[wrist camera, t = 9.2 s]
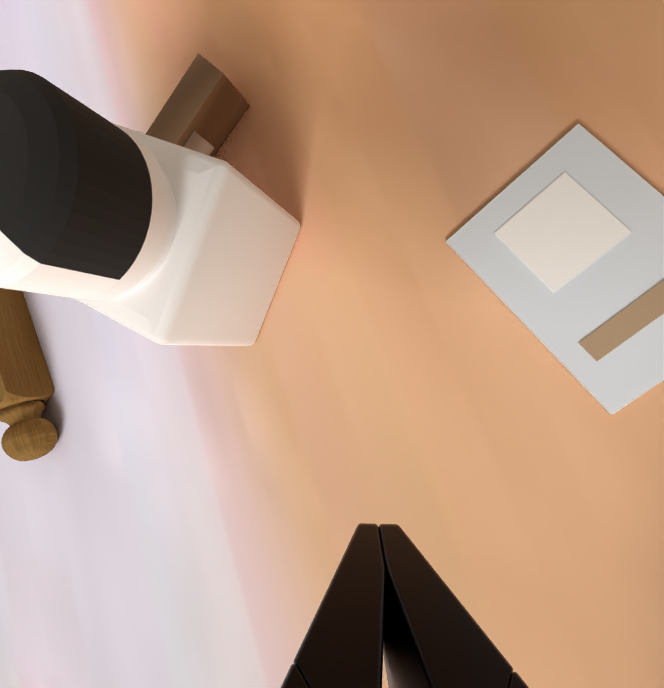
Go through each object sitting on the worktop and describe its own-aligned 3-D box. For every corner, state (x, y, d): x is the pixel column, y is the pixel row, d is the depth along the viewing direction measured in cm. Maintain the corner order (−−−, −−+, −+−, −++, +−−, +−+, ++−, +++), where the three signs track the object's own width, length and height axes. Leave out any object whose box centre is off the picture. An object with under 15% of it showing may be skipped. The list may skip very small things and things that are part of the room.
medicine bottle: (200, 185, 22) (-76, 7, 10) (304, 223, 20) (104, 54, 8) (158, 299, 23) (-140, 250, 11) (255, 348, 21) (11, 347, 9)
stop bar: (251, 106, 21) (225, 75, 19) (115, 298, 24) (78, 293, 21) (226, 86, 21) (198, 53, 19) (96, 277, 24) (57, 269, 22)
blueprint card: (779, 299, 14) (785, 298, 14) (609, 414, 16) (612, 415, 15) (577, 125, 16) (579, 122, 16) (445, 242, 18) (445, 240, 17)
